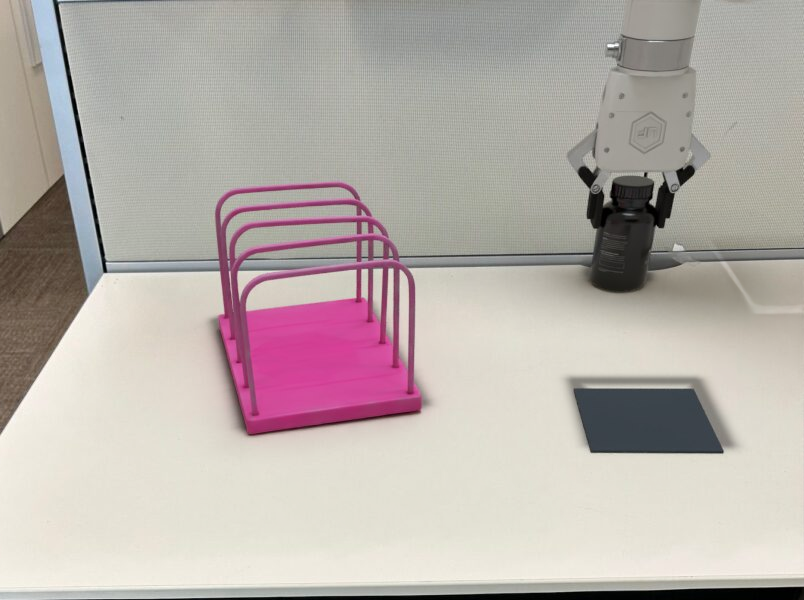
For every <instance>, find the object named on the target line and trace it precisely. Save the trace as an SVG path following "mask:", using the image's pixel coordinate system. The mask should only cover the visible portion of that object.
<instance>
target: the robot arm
mask: <svg viewBox="0 0 804 600" xmlns="http://www.w3.org/2000/svg"><path fill="white" fill-rule="evenodd" d="M714 1H715V2H721V3H727V4H733V5H749V4H754V3H757V2H760V1H761V0H714ZM701 4H702V0H625V5H624V13H623V19H622V27H621V33H619V37H618V38H616V39H617V40H614V41H613V42H606V43H605V48H604V57H605V58H611V59H613V60H615V62H616V65H612V67H610V68H609V72H608V75H607V78H606V80H605V81H606V82H605V84H604V87H603V91H602V94H601V95H602V96H601V100H600V104H599V109H598V112H597V118H596V124H595V128H594V129H593V130H592V131H591V132H590V133H588V134H587V135H586V136H585V137H584V138H583V139H582V140H580V141H579V142H578V143H577V144H576V145H574V146H573V147H572V148H571V149H570V150H568V152H567V153H566V159H567V161H568V163H569V165H570V166H571V167H572V168H573V170H574V171H575V173H576V174H577V175H578V177H579V178H580V180H581V181H582V182H583V184H585V186H586V187H587V188H588V189H589V192H588V199H587V206H586V213H585V214H586V220H589V221H590V224H591V227H592V229H593V230H597V229H598V228H600V224H601V218H602V211H603V205H604V204H605V196H606V195H605V192H604V186H605V185H606V183H607V181H608V179H609V178H610V177H611V175H612V174H613V173H621V174H622V173H625V174H626V173H661V175H662V179H663V182H662V185H661V184H660V185H659V187H658V188H657V193H656V200H655V205H654V207H655V208H656V210H657V214H658V216H657V223H656V227H657V228H658V229H665V225H666V221H667V219H670V218H671V216H672V211H673V210H672V209H673V206H674V199H675V196H676V193H678V192H679V191H680V190H681V187H682V186H683V185H684V184H685V183H686V182H688V181H689V180H690V179H691V178H693V176H694V175H695V173H696V172H697V171H698V170H700V169H701V168H702V167H703V166H704V165H705V164H706V163H707V162H708V161H709V160H710V159H711V153H710V152H709V150H708V149H707V148H706V147H705V146H704V145H703V144H702V142H701V141H700V140H699V139H698V138H697V137H696V136H695V135H694V134H693V123H694V117H695V116H694V115H695V106H696V96H697V95H696V94H697V92H696V91H697V70H696V69H695V68H693V67H691V66H690V63H691V58H692V53H693V47H694V41H695V35H696V31H697V24H698V20H699V15H700V10H701ZM590 152H591V155H592V158H593V159H594V161H595V167H594V168H593V170H591V169H590V168H589V167H588V166H587V164H586V163H585V162H584V157H585V156H586V155H588V154H589V153H590ZM689 152H691V154H692V155H691V157H690V158H689V159H688V156H689ZM687 160H688V161H687Z"/></svg>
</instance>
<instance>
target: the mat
mask: <svg viewBox="0 0 804 600" xmlns="http://www.w3.org/2000/svg"><path fill="white" fill-rule="evenodd" d="M573 393H574V397H575V400H576V404H577V407H578V410H579V414H580V418H581V421H582V425H583V428H584V432H585V435H586V440H587V443H588V446H589V450H590V453H654V454H655V453H656V454H657V453H660V454H661V453H663V454H665V453H667V454H668V453H669V454H670V453H671V454H673V453H674V454H677V453H678V454H679V453H680V454H681V453H682V454H685V453H686V454H724V453H725V450H724V449H723V447H722V444H721V442H720V440H719V438H718V436H717V434H716V432H715V430H714V428H713V425H712V423H711V422H710V420H709V416H708V415H707V413H706V411H705V409H704V407H703V405H702V403H701V400H700V398H699V397H698V395H697V393H696V391H695V388H684V387H683V388H676V387H675V388H669V387H668V388H667V387H666V388H664V387H663V388H652V387H651V388H647V387H646V388H643V387H642V388H641V387H639V388H633V387H632V388H631V387H630V388H629V387H627V388H624V387H623V388H622V387H621V388H619V387H618V388H615V387H613V388H612V387H611V388H610V387H607V388H606V387H603V388H602V387H601V388H600V387H599V388H597V387H595V388H594V387H593V388H592V387H589V388H588V387H587V388H586V387H583V388H582V387H577V388H575V387H574V388H573Z"/></svg>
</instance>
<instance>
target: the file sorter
mask: <svg viewBox="0 0 804 600" xmlns="http://www.w3.org/2000/svg"><path fill="white" fill-rule="evenodd" d="M330 188H341V189H344V190H346V191H348V192H350V194H351V195H352V196H353V197H354V198H351V197H345V198H343V197H342V198H341V197H340V198H327V199H309V200H295V201H284V202H283V201H282V202H271V203H257V204H248V205H240V206H238V207H235V208H234V209H232V210H231V211H229V212H228V213H227V214H226V215H225V217H224V219H223V220H222V219H221V212H222V211H221V210H222V207H223V206H224V204H225V202H226V201H227V200H228V199H229V198H231V197H233V196H235V195H243V194H252V193H253V194H255V193H266V192H282V191H295V190H296V191H297V190H314V189H315V190H316V189H330ZM343 205H348V206H354V207H356V215H337V216H312V217H293V218H277V219H264V220H263V219H262V220H252V221H249V222H246V223H244V224H242V225H241V226H239V227H238V228H237V229H236V230H235V232H234V233H233V235H232V237H231V238H230V242H229V246H228V245H227V228H228V225H229V223H230V221H231V220H232V219H234V217H236V216H237V215H239V214H242V213H249V212H260V211H271V210H282V209H284V210H285V209H295V208H307V207H309V208H310V207H324V206H325V207H326V206H343ZM362 211H363V213H364V215H362ZM221 220H222V222H221ZM214 221H215V232H216V233H215V235H216V245H217V254H218V264H219V273H220V283H221V284H220V285H221V293H222V294H221V295H222V304H223V312H224V313H223V314H218V316H217V317H218V327H219V331H220V334H221V338H222V342H223V345H224V348H225V353H226V356H227V360H228V364H229V368H230V372H231V375H232V379H233V383H234V387H235V391H236V394H237V399H238V402H239V405H240V409H241V413H242V417H243V421H244V425H245V429H246V433H247V434H249V435H253V434H259V433H260V434H261V433H267V432H272V431H280V430H288V429H295V428H301V427H309V426H316V425H323V424H328V423H336V422H337V423H338V422H345V421H351V420H359V419H366V418H373V417H380V416H387V415H395V414H401V413H407V412H408V413H409V412H415V411H421V410H422V408H423V407H422V393H421V392H420V389H419V388H418V386H417V385H416V383H415V347H416V346H415V345H416V282H415V278H414V276H413V274H412V272H411V271H410V270H409V268H408V267H407V266H406V265H405V264H403V263H402V262H401V261H400V254H399V251H398V249H397V246H396V245H395V243H394V242H393V241H392V239H390V237H389V232H388V231H387V229H386V227H385V226H384V224H383V223H382V222H381V221H380V220H378V219H376V218H375V217H373V214H372V212H371V210H370V209H369V208H368V206H367V205H366V204H365V203H364V202H362V201H361V197H360V195H359V192H357V190H356V189H355V188H354V187H353V186H352V185H351V184H349V183H347V182H343V181H339V180H335V181H334V180H333V181H316V182H298V183H297V182H295V183H282V184H268V185H267V184H266V185H255V186H243V187H235V188H233V189H229V190H228V191H227V190H226V192H224V193H223V194H222V195H221V196H220V197H219V199H218V200H217V202H216V206H215V210H214ZM344 223H356V234H349V235H339V236H330V237H320V238H312V239H303V240H296V241H285V242H278V243H269V244H262V245H261V244H260V245H255V246H252V247H250V248H246V249H245V250H244V251H243V252H241V253H240V254H239V255H238V256H237V257H236V245H237V243H238V240H239V238H240V237H241V236H243V234H245V233H246V232H247V231H250V230H252V229H258V228H259V229H260V228H273V227H285V226H303V225H304V226H305V225H322V224H323V225H324V224H344ZM363 223H367V233H362V231H363ZM374 226H375V228H377V229H378V230H379V232H380V233H381V234H380V233H376V232H374V229H375V228H374ZM365 241H366V242H367V260H366V261H362V259H363V258H362V257H363V256H362V255H363V254H362V252H363V250H362V249H363V248H362V245H363V244H362V243H363V242H365ZM374 241H379V242H382V249H383V250H382V259H376V260H374V252H375V251H374V244H375V243H374ZM348 243H356V261H355V262H347V263H338V264H330V265H329V264H328V265H320V266H312V267H303V268H296V269H288V270H280V271H272V272H271V271H270V272H266V273H262V274H260V275H257V276H255V277H253V278H252V279H251V280H250V281H248V283H247V284H246V285H245V286H244V287H243V290H242V291H241V295H240V291H239V283H238V281H239V280H238V273H239V269H240V266H241V265H242V264H243V262H245V260H247V259H248V258H249V257H251V256H254V255H256V254H262V253H263V254H264V253H269V252H271V253H272V252H278V251H285V250H286V251H287V250H294V249H304V248H311V247H319V246H320V247H321V246H328V245H329V246H330V245H338V244H340V245H341V244H348ZM390 251H391V254H392V259H390ZM228 252H229V253H228ZM228 256H229V258H228ZM389 267H390V268H393V271H392V275H393V276H392V277H393V285H392V286H393V287H392V288H393V292H392V293H393V294H392V295H393V297H392V302H393V303H392V305H393V307H392V342H391V340H390V338H389V337H388V334H387V315H388V295H389V294H388V293H389V291H388V290H389V289H388V288H389ZM375 268H382V274H381V275H382V278H381V279H382V280H381V304H380V305H381V306H380V321H379V319H378V317H377V316H376V314H375V313H374V269H375ZM363 269H364V270H365V269H367V299H366V298H365V297H363V296H362V270H363ZM347 271H355V272H356V273H355V275H356V276H355V277H356V280H355V281H356V285H355V286H356V287H355V296H356V297H352V298H343V299H336V300H327V301H326V300H325V301H319V302H311V303H303V304H294V305H285V306H279V307H278V306H277V307H270V308H260V309H253V310H247V300H248V297H249V295H250V293H251V291H252V290H253V289H254V288H255V287H256V286H258V285H259V284H262V283H264V282H269V281H275V280H283V279H289V278H298V277H305V276H314V275H323V274H330V273H338V272H347ZM401 271H402V272H403V274H404V275H405V276H406V278H407V283H408V285H407V286H408V332H407V333H408V334H407V335H408V337H407V338H408V339H407V340H408V343H407V347H408V348H407V367H406V366H405V364H404V363H403V360H402V359H401V357H400V355H399V354H400V299H401V298H400V296H401V295H400V294H401V293H400V289H401V288H400V285H401V284H400V283H401V280H400V279H401V275H400V274H401V273H400V272H401Z"/></svg>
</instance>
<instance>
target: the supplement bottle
mask: <svg viewBox="0 0 804 600" xmlns="http://www.w3.org/2000/svg"><path fill="white" fill-rule="evenodd" d="M610 187H611V188H610V191H609V195H608V196H609V198H610V200H608V201H607V202H604V204H603V211H602V218H601V224H600V228H598V229H595V237H594V245H593V252H592V259H591V264H590V274H589V275H590V276H589V278H590V282H591V283H592V285H594V286H595V287H597V288H599V289H602V290H606V291H609V292H631V291H632V292H633V291H636V290H638V289H640V288H642V287H643V286H644V285H645V283H646V281H647V277H648V272H649V265H650V261H651V257H652V256H651V255H652V249H653V245H654V244H653V243H654V240H655V232H656V227H657V226H656V223H657V216H658V214H657V210H656V208H655V205H653V204H652V203H651V202H650V201H652V200H653V197H654V190H655V189H654V188H655V181H654V180H653V178H651V177H647V176H641V175H632V174H631V175H630V174H629V175H621V176H617V177H614V178H613V179H612V181H611V186H610Z"/></svg>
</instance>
